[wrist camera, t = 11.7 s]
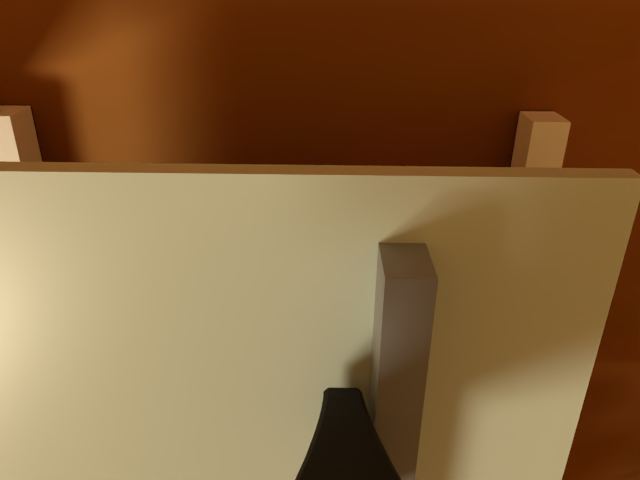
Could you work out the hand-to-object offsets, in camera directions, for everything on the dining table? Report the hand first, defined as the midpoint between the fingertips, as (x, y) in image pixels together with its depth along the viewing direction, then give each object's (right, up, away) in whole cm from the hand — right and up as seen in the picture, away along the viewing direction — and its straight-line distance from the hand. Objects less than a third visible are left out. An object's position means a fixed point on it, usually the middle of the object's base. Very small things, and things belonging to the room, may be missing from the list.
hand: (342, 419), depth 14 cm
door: (-2, +1, +1) cm, 2 cm away
